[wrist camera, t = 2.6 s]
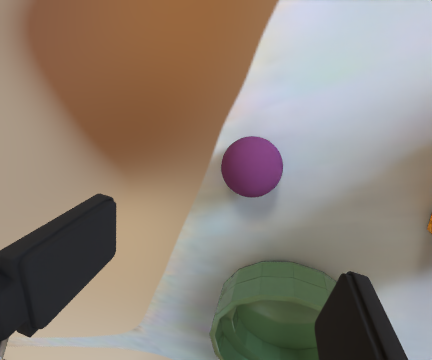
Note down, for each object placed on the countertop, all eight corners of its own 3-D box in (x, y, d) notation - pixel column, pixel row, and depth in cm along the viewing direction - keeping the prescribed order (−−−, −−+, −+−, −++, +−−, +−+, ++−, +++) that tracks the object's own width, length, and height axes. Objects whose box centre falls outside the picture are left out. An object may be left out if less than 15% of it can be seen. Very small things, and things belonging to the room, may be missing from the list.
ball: (234, 125, 21) (221, 136, 16) (290, 139, 20) (292, 154, 15) (223, 175, 23) (209, 197, 18) (273, 189, 22) (271, 216, 17)
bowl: (236, 239, 25) (226, 272, 21) (385, 288, 22) (410, 338, 18) (212, 326, 31) (200, 366, 27) (326, 371, 29) (334, 424, 24)
